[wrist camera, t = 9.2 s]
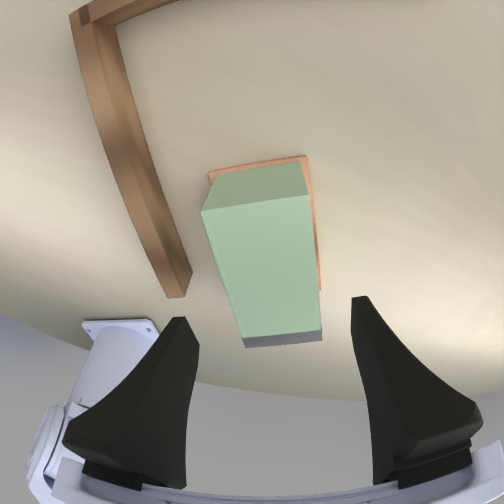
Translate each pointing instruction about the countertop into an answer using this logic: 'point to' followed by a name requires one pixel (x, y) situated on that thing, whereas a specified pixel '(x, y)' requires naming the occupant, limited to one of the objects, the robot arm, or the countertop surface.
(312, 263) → the sage block
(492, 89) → the countertop surface
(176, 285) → the arena
